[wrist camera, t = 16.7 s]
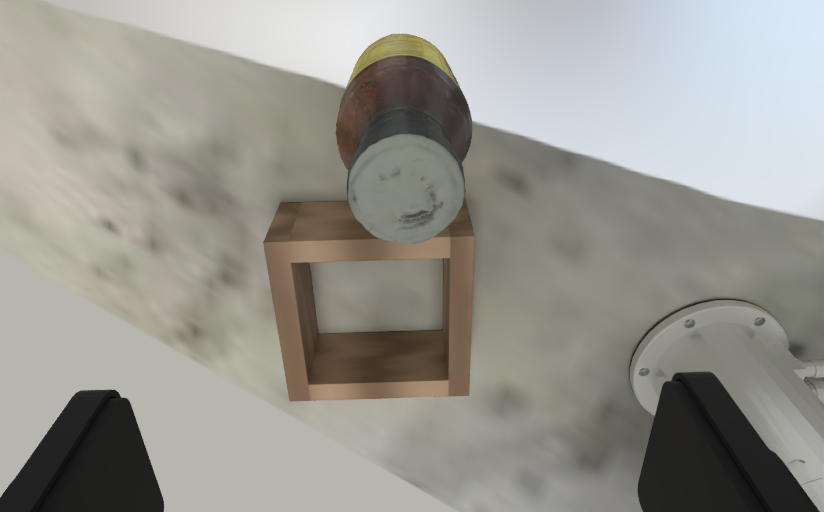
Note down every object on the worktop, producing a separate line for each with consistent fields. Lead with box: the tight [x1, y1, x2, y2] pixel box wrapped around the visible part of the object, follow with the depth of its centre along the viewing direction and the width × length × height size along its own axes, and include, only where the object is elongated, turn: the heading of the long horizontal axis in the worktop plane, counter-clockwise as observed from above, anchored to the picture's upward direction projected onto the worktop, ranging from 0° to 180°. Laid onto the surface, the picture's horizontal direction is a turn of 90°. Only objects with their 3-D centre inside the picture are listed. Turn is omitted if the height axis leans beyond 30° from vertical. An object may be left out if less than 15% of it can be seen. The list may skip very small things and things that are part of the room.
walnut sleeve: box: [263, 198, 475, 401], centre depth 41 cm, size 13×13×6 cm
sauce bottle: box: [336, 34, 472, 244], centre depth 28 cm, size 7×6×20 cm
